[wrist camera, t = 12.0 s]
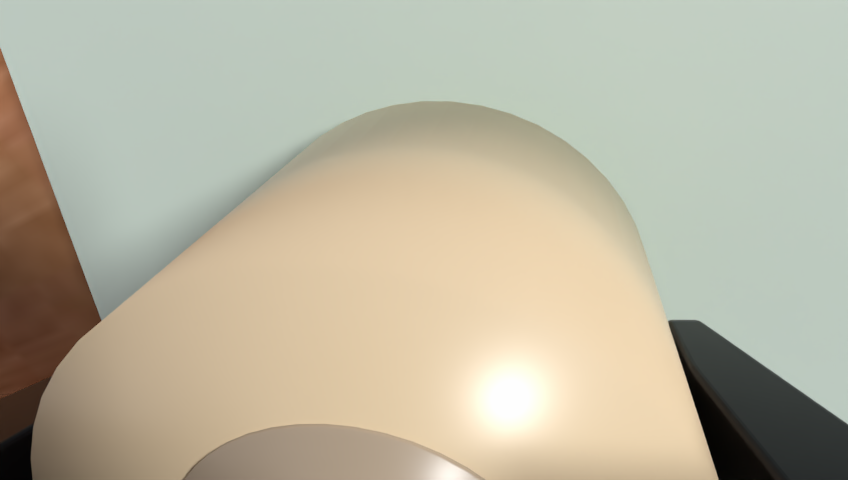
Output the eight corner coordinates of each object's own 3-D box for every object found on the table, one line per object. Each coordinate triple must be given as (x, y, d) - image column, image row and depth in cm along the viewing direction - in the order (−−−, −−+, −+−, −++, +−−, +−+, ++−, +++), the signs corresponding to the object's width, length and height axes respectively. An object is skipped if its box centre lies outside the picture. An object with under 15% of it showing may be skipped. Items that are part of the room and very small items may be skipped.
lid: (869, 575, 12) (887, 613, 12) (192, 493, 16) (174, 518, 16) (1146, -351, 7) (1214, -387, 6) (-27, -141, 10) (-71, -146, 10)
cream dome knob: (640, 458, 11) (708, 830, 6) (293, 441, 12) (141, 738, 7) (662, 85, 8) (809, 264, 4) (215, 114, 9) (-92, 270, 5)
